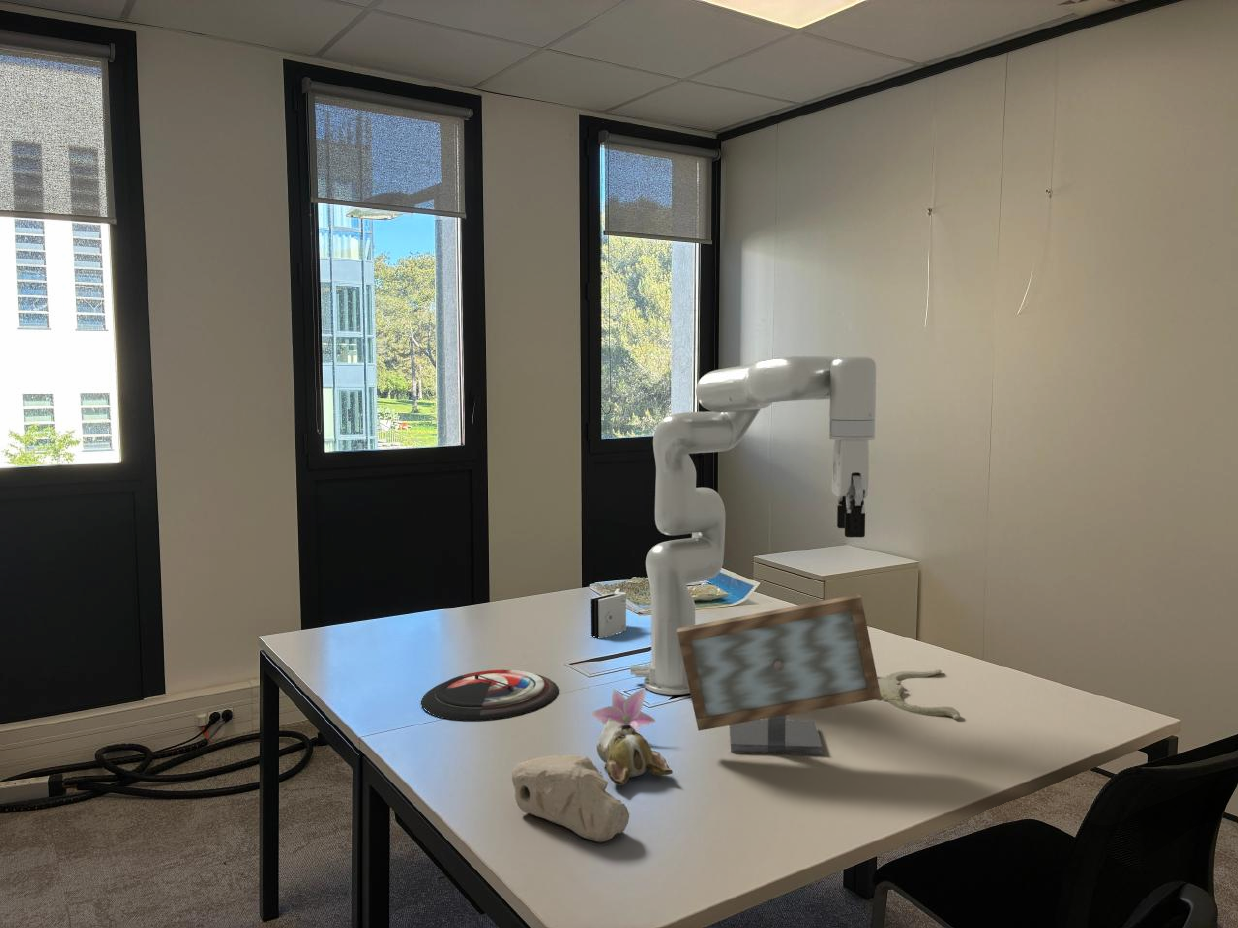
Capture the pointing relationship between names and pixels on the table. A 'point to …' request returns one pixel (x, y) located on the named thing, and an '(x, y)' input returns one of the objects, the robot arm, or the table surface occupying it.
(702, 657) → the picture frame
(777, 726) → the frame stand
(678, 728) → the table surface
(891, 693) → the decorative wall piece
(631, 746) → the ceramic sculpture
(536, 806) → the decorative stone
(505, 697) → the wall clock
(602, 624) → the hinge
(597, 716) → the lily
